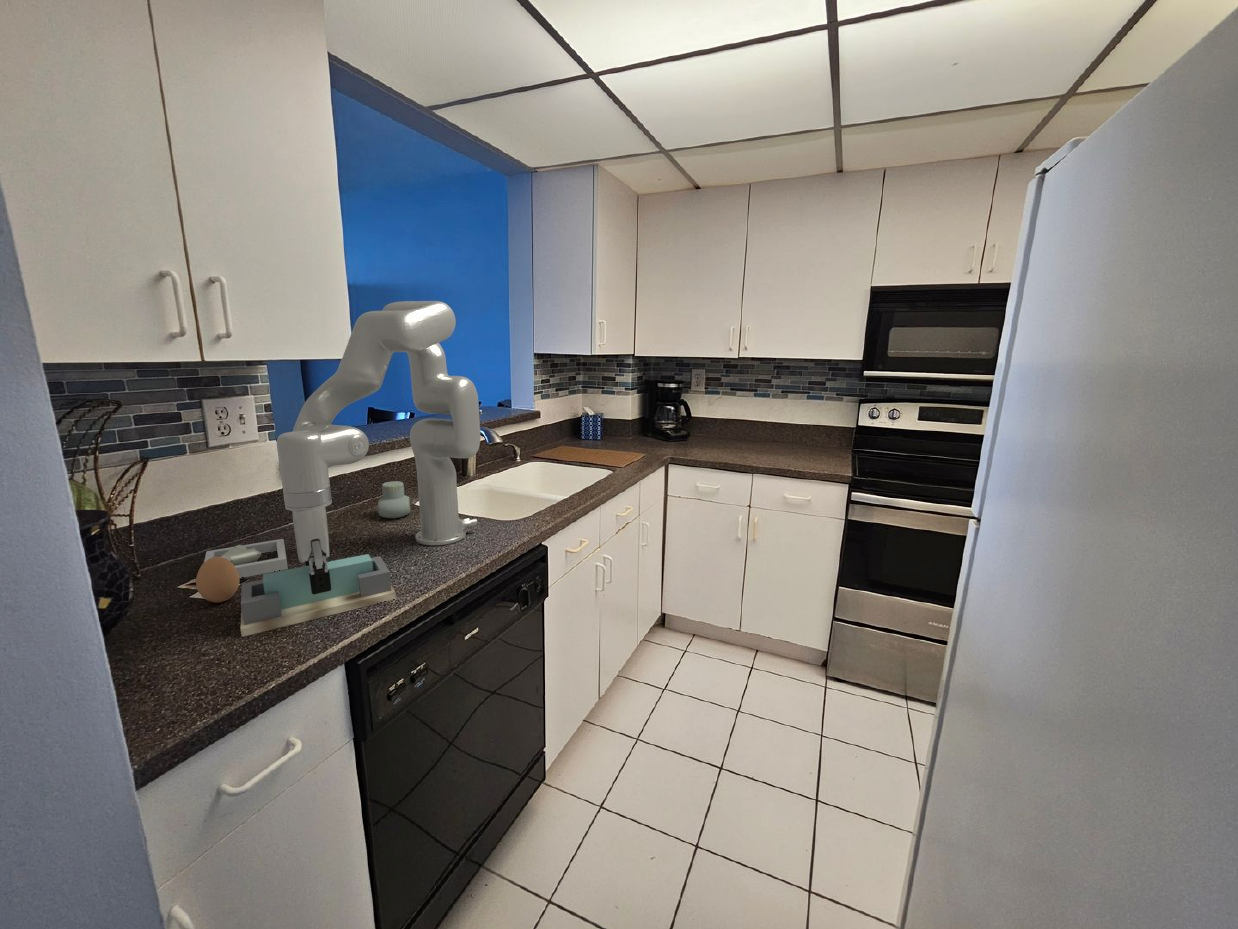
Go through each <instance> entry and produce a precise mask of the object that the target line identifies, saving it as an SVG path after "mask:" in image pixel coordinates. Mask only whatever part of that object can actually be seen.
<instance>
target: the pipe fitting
mask: <svg viewBox="0 0 1238 929" xmlns="http://www.w3.org/2000/svg"><path fill="white" fill-rule="evenodd" d="M242 545H243V544H237V545H235V546H232V547H233V548H231V549H230V550H228V552H227V553H225V554H224V555H222V556H221V557H222V558H225V559H227V560H229V561H230V562H231V563H232V564H233V565H234V566H237V565H242V564H248V563H253V562H258V560H259V559H260V557H261V556H262V555H263V554H261V552H259V551H256V550H255V549H254V548H252V549H247V548H246V547H244V546H242Z"/></svg>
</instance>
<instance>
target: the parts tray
mask: <svg viewBox="0 0 1238 929" xmlns="http://www.w3.org/2000/svg"><path fill="white" fill-rule="evenodd" d="M241 545H242V546H244V547H246V548H247V549H252V548H254V549H255V550H256V551H259V552H261V553H265V552H271V553H275V552H274V551H277V557H275V558H270V559H265V560H259V561H257V562H253V563H248V564H242V565H237V566H235V568H236V569H237V571H238V574H239V579H243V578H242V577H244V578H248V577H253V576H259V575H263V574H268V573H273V572H274V571H275V572H278V571H279V570H280V571H283V570H289V568H288V562H287V561H288V560H287V554H286V553H287V552H286V547H285V540H284V538H281V539H273V540H267V541H262V542H261V541H259V542H255V543H250V544H245V545H244V544H241ZM233 547H234V546H231V547H225V548H219V549H211V550H207V551H206V552H205V557H204V560H203V563H204V562H205V561H207V560H208V559H210V558H213V557H221V556H222V555H224V554H225V553H227V552H228V550H230V549H231V548H233Z"/></svg>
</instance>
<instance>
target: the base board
mask: <svg viewBox="0 0 1238 929" xmlns="http://www.w3.org/2000/svg"><path fill="white" fill-rule="evenodd" d="M393 599H395V600H397V594H396V590H395V588H394V587H393V586H392V584H391V591H387V592H383V593H379V594H375V595H370V596H366V597H362V598H361V596H360V593H359V592H356V593H352V594H348V595H343V596H339V597H335V598H330V599H326V600H321V601H317V602H313V603H308V604H304V605H300V606H295V607H291V608H287V609H282V610H281V614H282V616H281V617H277V618H273V619H268V620H264V621H260V622H256V623H251V624H247V625H244V621H243V615H242V609H241V611H240V612H241V613H240V634H241V637H242V638H243V637H247V636H252V635H256V634H260V633H264V632H267V631H268V632H269V631H271V630H277V629H280V628H284V627H288V626H291V625H296V624H300V623H301V624H302V623H304V622H308V621H311V620H312V621H313V620H317V619H322V618H325V617H328V616H329V617H330V616H333V615H337V614H340V613H344V612H350V611H354V610H356V609H361V608H365V607H370V606H373V605H378V604H381V603H380V602H382V603H385V602H384V601H386V602H389V601H390V602H391V601H394V600H393ZM377 603H378V604H377Z"/></svg>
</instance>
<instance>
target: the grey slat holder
mask: <svg viewBox="0 0 1238 929" xmlns="http://www.w3.org/2000/svg"><path fill="white" fill-rule="evenodd" d="M370 558H371V559H372V564H373V572H369V573H364V574H359V575H358V584H359V593H360V596H361V598H362V597H366V596H370V595H375V594H379V593H383V592H387V591H391V585H392V582H391V573H390V570H389V568H388V567H387V565H386V563H385V562H384V560H383V558H382V557H381V555H379V556H373V557H370ZM240 594H241V595H240V596H241V597H240V608H241V609H242V615H243V621H244V625H247V624H251V623H256V622H260V621H264V620H268V619H273V618H277V617H281V616H282V614H281V607H280V600H279V593H278V592H274V593H270V594H265V592H264V585H263V578H262V579H259V580H253V581H252V580H251V581H247V582H244V583H241V592H240Z"/></svg>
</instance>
